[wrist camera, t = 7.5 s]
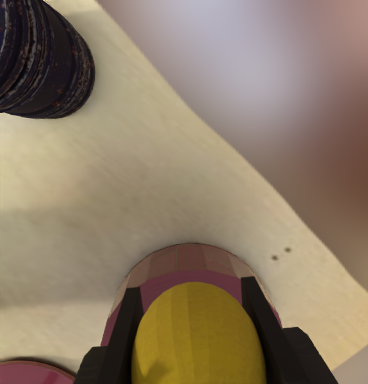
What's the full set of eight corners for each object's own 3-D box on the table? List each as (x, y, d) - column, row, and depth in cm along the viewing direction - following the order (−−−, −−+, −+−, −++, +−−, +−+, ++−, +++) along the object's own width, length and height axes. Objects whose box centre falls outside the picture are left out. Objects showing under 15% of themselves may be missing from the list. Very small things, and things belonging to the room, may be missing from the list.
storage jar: (-19, 86, 28) (-228, 39, 14) (21, -7, 27) (-169, -173, 12) (69, 138, 30) (-35, 145, 15) (113, 52, 28) (43, -33, 13)
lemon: (223, 241, 15) (271, 360, 7) (252, 325, 16) (320, 504, 8) (128, 273, 15) (78, 420, 8) (163, 353, 17) (150, 551, 9)
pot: (87, 332, 35) (67, 376, 29) (170, 213, 32) (168, 233, 25) (208, 398, 37) (215, 452, 31) (296, 294, 34) (322, 331, 28)
